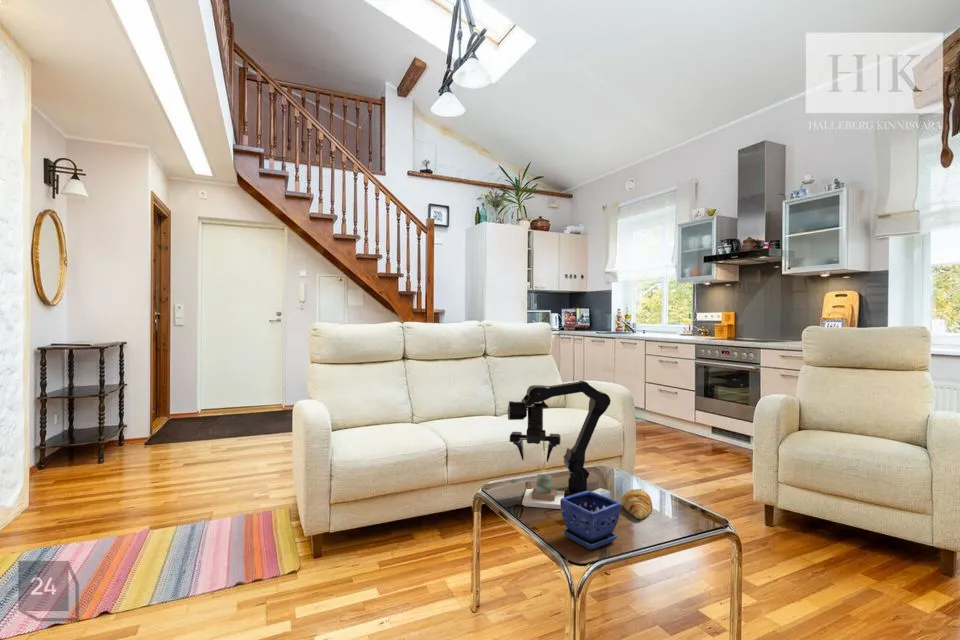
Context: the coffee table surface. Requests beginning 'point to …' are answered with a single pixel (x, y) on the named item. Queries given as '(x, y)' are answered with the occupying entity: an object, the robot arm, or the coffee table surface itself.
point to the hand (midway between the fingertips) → (535, 460)
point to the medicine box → (602, 492)
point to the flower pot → (590, 518)
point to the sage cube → (544, 483)
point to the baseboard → (542, 502)
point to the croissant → (637, 503)
